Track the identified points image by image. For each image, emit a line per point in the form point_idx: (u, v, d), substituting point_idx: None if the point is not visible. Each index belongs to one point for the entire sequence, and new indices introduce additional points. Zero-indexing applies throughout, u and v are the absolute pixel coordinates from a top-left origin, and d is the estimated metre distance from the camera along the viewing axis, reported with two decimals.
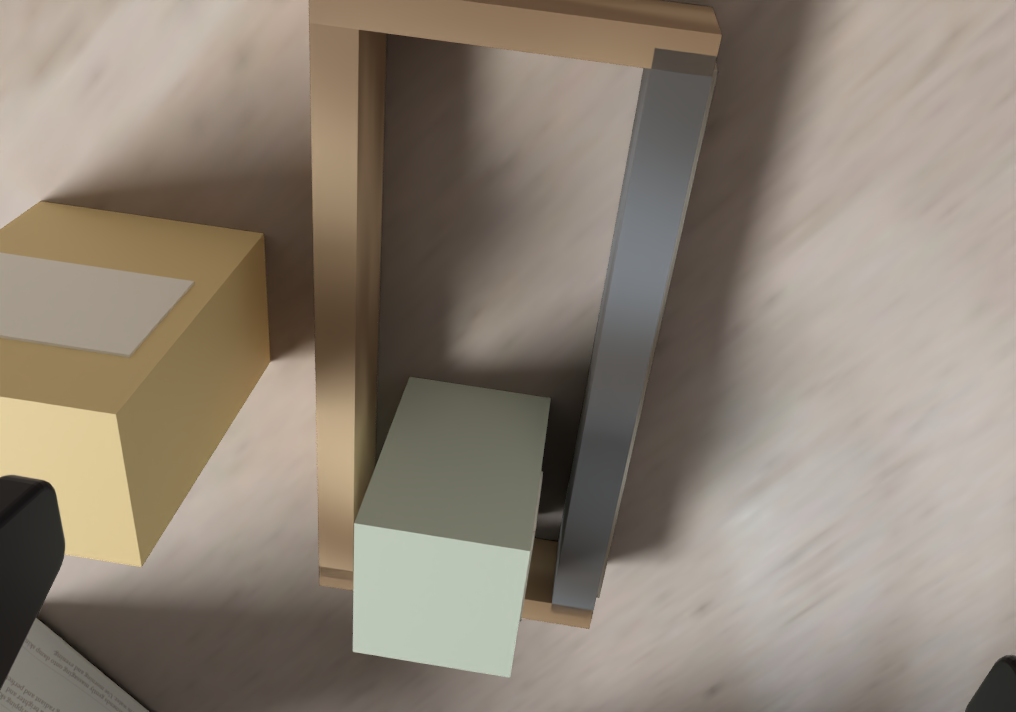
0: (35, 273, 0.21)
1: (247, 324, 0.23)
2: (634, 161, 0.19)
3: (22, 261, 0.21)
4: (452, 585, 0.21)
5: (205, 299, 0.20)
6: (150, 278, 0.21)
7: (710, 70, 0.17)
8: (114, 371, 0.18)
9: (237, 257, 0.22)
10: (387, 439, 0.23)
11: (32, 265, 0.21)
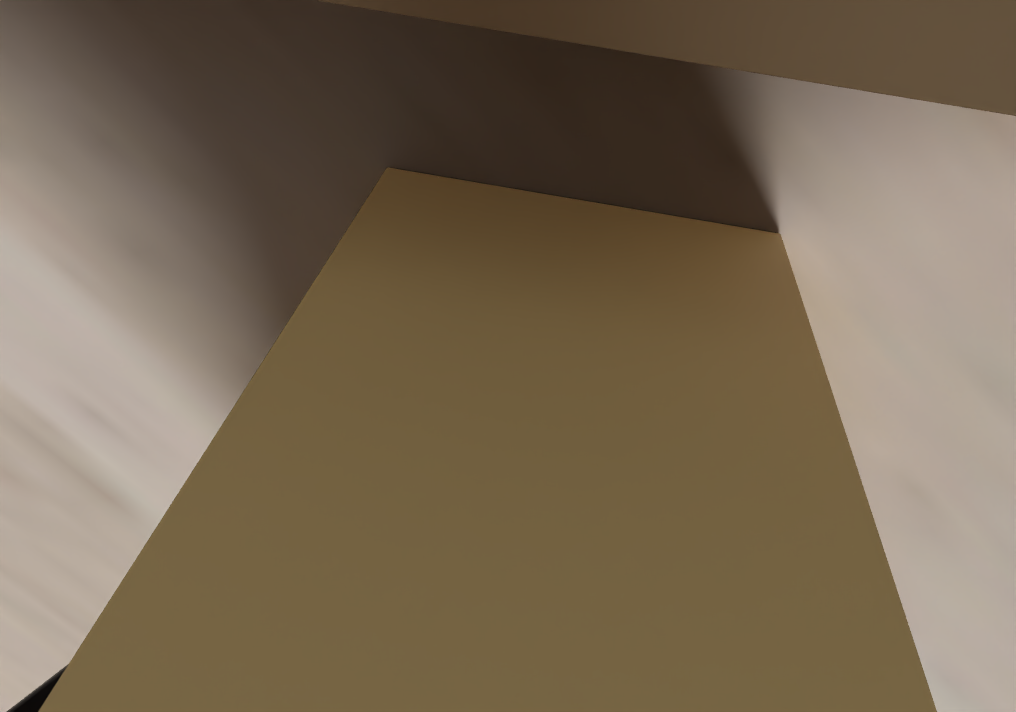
0: None
1: (561, 265, 0.08)
2: None
3: None
4: None
5: (264, 369, 0.06)
6: None
7: None
8: None
9: None
10: None
11: None
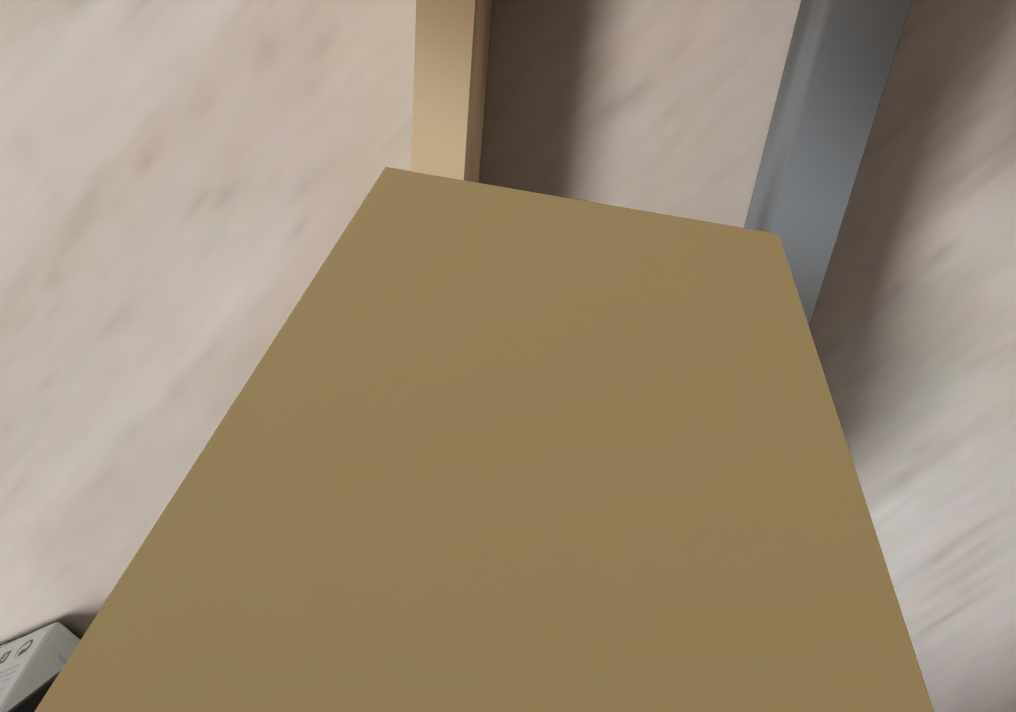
0: None
1: (560, 265, 0.08)
2: (814, 74, 0.15)
3: None
4: None
5: (262, 367, 0.06)
6: None
7: None
8: None
9: None
10: None
11: None
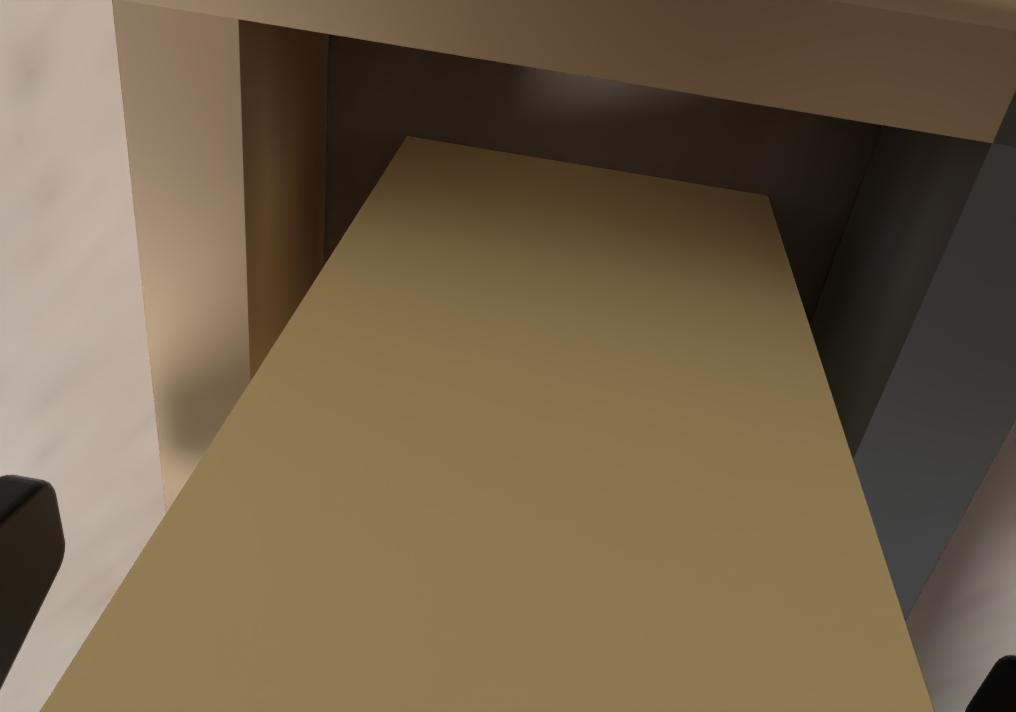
0: None
1: (568, 218, 0.09)
2: (901, 352, 0.08)
3: None
4: None
5: (309, 300, 0.07)
6: None
7: None
8: None
9: None
10: None
11: None
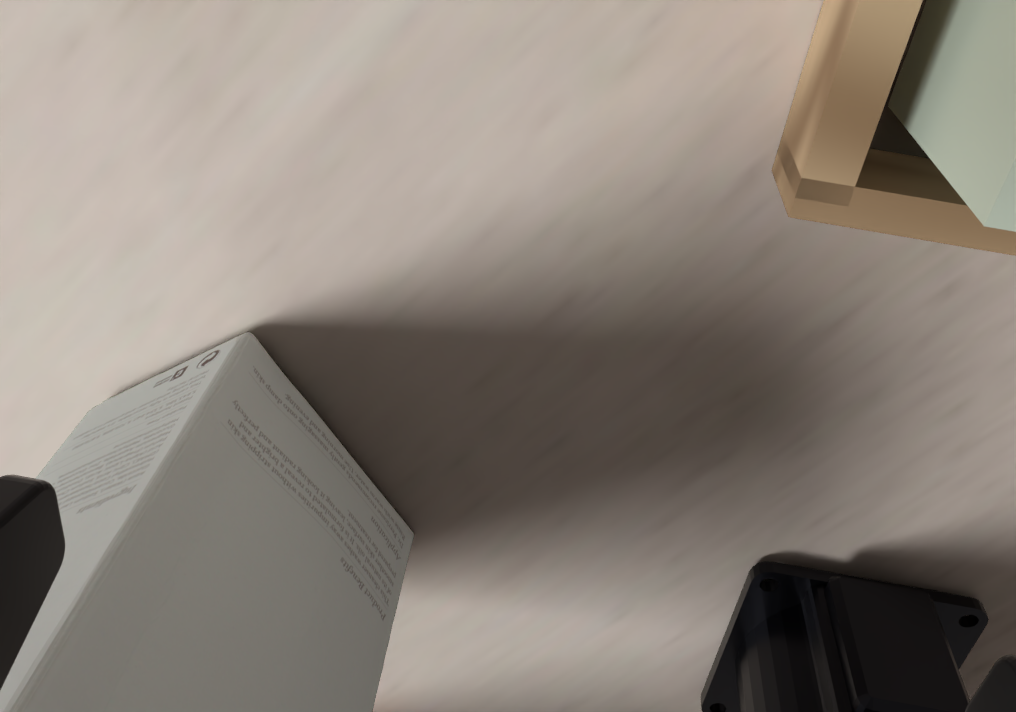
0: None
1: None
2: None
3: None
4: None
5: None
6: None
7: None
8: None
9: None
10: None
11: None
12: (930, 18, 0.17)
